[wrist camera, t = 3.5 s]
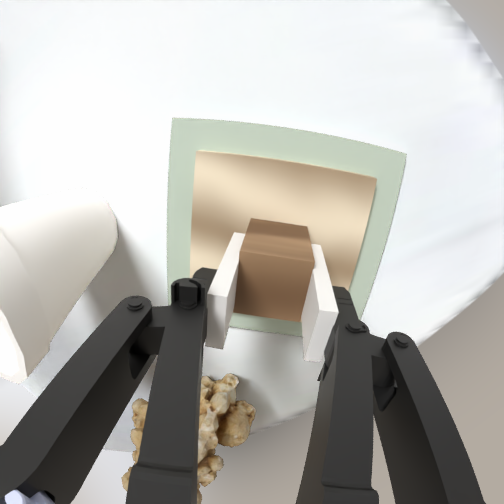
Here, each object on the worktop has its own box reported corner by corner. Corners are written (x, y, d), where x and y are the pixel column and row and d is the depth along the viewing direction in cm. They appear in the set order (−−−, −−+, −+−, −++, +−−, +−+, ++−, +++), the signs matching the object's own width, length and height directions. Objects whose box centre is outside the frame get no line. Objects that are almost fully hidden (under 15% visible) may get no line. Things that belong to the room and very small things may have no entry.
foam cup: (143, 184, 19) (0, 268, 7) (131, 291, 23) (45, 408, 11) (49, 161, 19) (-79, 211, 7) (49, 257, 23) (-45, 336, 11)
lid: (199, 150, 17) (164, 161, 12) (373, 176, 17) (409, 198, 12) (192, 299, 22) (167, 349, 17) (335, 319, 21) (346, 375, 16)
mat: (175, 117, 17) (172, 117, 17) (403, 152, 16) (406, 153, 16) (170, 311, 23) (168, 314, 23) (350, 337, 23) (351, 341, 22)
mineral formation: (136, 385, 29) (86, 495, 15) (209, 331, 24) (154, 499, 10) (191, 421, 30) (161, 528, 17) (274, 380, 26) (262, 532, 12)
